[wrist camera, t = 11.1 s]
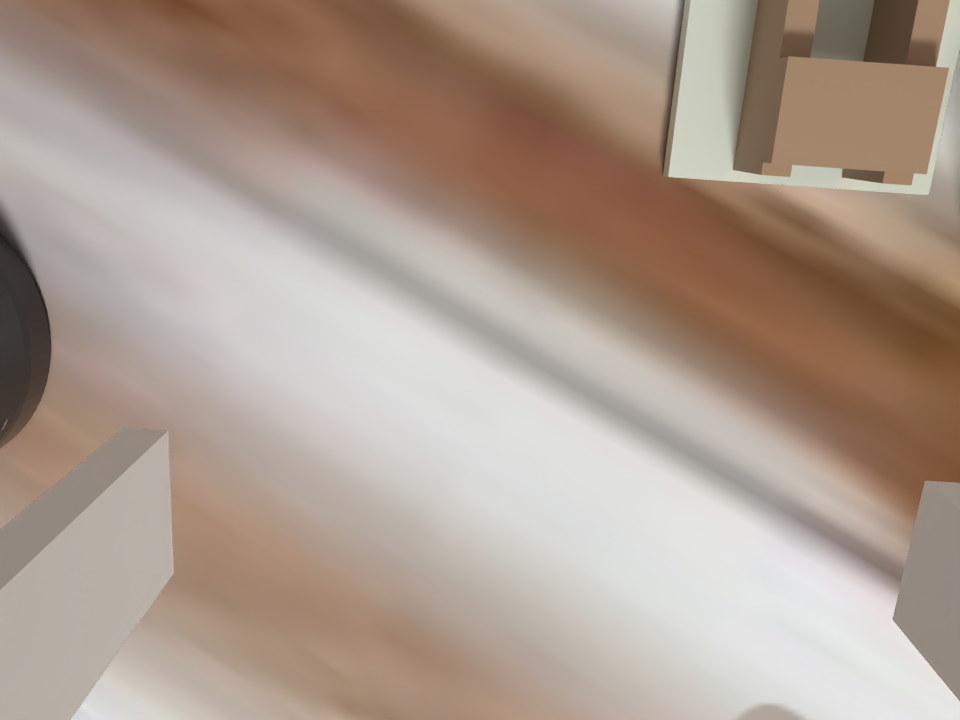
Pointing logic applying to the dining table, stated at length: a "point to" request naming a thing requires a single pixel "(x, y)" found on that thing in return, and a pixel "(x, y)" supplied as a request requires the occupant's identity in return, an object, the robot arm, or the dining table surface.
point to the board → (725, 78)
